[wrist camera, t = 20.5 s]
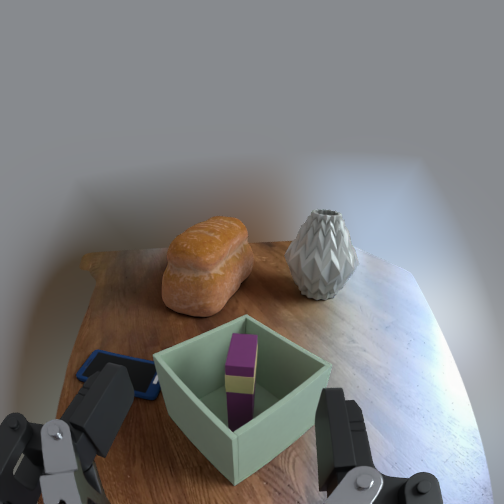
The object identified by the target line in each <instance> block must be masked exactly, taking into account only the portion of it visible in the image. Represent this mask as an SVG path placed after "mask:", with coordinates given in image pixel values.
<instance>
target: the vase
mask: <svg viewBox="0 0 504 504" xmlns="http://www.w3.org/2000/svg"><path fill="white" fill-rule="evenodd" d="M284 256H285V258H286V261H287V264H288V266H289V269H290V272H291V275H292V277H293V280H294V282H295V284H296V285H298V286H299V290H300V291H301V294H302V295H306V296H307V298H314V299H316V300H319V299H323V300H327V299H328V298H334V295H336V294H337V292H338V290H341V289H342V288H343V287H344V285H345V284H346V282H347V281H348V280H349V278H350V277H351V275H352V274H353V272H354V271H355V269H356V268H357V266H358V265H359V262H358V258H357V255H356V251H355V249H354V247H353V246H352V243H351V238H350V234H349V231H348V229H347V228H346V226H345V222H344V220H343V219H342V214H341V213H337V211H331V210H324V209H323V210H319V209H317V210H313V211H312V212H311V216H308V218H307V220H306V222H305V223H304V224H303V225H302V226H301V228H300V230H299V232H298V234H297V237H296V239H295V240H293V241H292V243H291V244H290V246H289V248H288V250H287V251H286V253H285V255H284Z"/></svg>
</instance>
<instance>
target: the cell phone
mask: <svg viewBox="0 0 504 504" xmlns="http://www.w3.org/2000/svg"><path fill="white" fill-rule="evenodd" d="M107 363H113V364H118V365H122V366H125V367H126V368H127V371H128V374H129V377H130V380H131V383H132V386H133V389H134V396H135V397H139V398H143V399H148V400H154V399H156V397H157V396H158V394H159V392H160V389H161V387H160V383H159V379H158V375H157V371H156V367H155V363H154V361H149V360H144V359H139V358H134V357H129V356H124V355H120V354H115V353H111V352H107V351H103V350H95V351H94V352H92V354H91V355H90V356H89V358H88V359H87V360H86V362H85V363H84V364H83V365H82V367H81V368H80V369H79V371H78V372H77V374H76V377H77V378H78V379H79V380H80V381H83V382H86V380H87V379H88V378H89V377H90V376H91V375H93V374H94V373H96V372H97V371H99V372H101V371H102V370H103V368H104V367H105V365H106V364H107Z"/></svg>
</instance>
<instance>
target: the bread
mask: <svg viewBox="0 0 504 504" xmlns="http://www.w3.org/2000/svg"><path fill="white" fill-rule="evenodd" d="M247 238H248V233H247V230H246V227H245V226H244V225H243V223H242V222H241V221H240V220H238V219H236V218H232V217H223V216H216V217H212V218H210V219H208V220H207V221H204V222H200V223H198V224H196V225H194V226H192V227H190V228H188V229H187V230H186V231H185V232H184V233H182V234H180V235H178V236H177V237H176V238H175V239H174V240H173V241H172V243H171V244H170V246H169V249H168V252H167V260H168V265H167V267H166V269H165V271H164V274H163V278H162V298H163V302H164V303H165V305H166V306H167V307H168V308H170V309H172V310H174V311H175V312H178V313H183V314H187V315H191V316H200V317H208V316H212V315H214V314H216V313H218V312H219V311H221V309H222V308H223V307H224V305H225V304H226V303H227V301H228V299H229V298H230V297H231V296H232V295H233V294H234V293H235V292H236V291H237V290H238V288H239V287H240V284H241V283H242V282H243V281H244V280H245V279H246V278H247V277H248V276H249V275H250V273H251V270H252V266H253V252H252V249H251V247H250V245H249V243H248V241H247Z"/></svg>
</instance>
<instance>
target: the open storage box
mask: <svg viewBox="0 0 504 504" xmlns="http://www.w3.org/2000/svg"><path fill="white" fill-rule="evenodd" d="M232 333H238V334H252V335H258V339H257V344H258V350H257V365H256V381H255V401H254V413H253V419H252V420H251V421H249V422H248V423H246V424H245V425H243V426H242V427H240V428H239V429H237V430H236V431H234V432H232V431H231V430H230V429H229V428H228V414H227V397H226V389H225V363H226V359H227V354H228V350H229V346H230V342H231V337H232ZM153 359H154V363H155V367H156V371H157V375H158V379H159V383H160V387H161V390H162V394H163V397H164V401H165V404H166V408H167V411H168V415H169V416H170V417H171V418H172V420H173V421H174V422H175V423H176V424H177V426H178V427H179V428H180V429H181V430H182V432H183V433H184V434H185V435H186V436H187V437H188V439H189V440H190V441H191V442H192V443H193V444H194V445H195V446H196V447H197V449H198V450H199V451H200V452H201V453H202V454H203V455H204V456H205V457H206V458H207V459H208V460H209V461H210V462H211V463H212V464H213V465H214V466H215V467H216V468H217V469H218V470H219V471H220V472H221V473H222V474H223V475H224V476H225V477H226V478H227V479H228V480H229V481H230V482H231V483H232V484H233V485H234V486H235V485H237V484H238V483H240V482H241V481H243V480H244V479H246V478H247V477H249V476H250V475H252V474H253V473H254V472H256V471H257V470H259V469H260V468H261V467H263V466H264V465H266V464H267V463H268V462H270V461H271V460H272V459H273V458H275V457H276V456H277V455H279V454H280V453H281V452H282V451H284V450H285V449H286V448H287V447H289V446H290V445H291V444H292V443H293V442H295V441H296V440H297V439H298V438H299V437H301V436H302V435H303V434H304V433H305V432H306V431H308V430H309V429H310V428H311V427H312V426H313V425H314V424H315V413H316V409H317V406H318V402H319V399H320V395H321V392H322V389H323V388H326V387H327V383H328V379H329V376H330V372H331V368H332V364H330V363H328V362H326V361H325V360H323V359H321V358H319V357H317V356H316V355H314V354H312V353H310V352H309V351H307V350H305V349H303V348H302V347H300V346H298V345H297V344H295V343H293V342H291V341H290V340H288V339H286V338H285V337H283V336H281V335H280V334H278V333H276V332H275V331H273V330H271V329H270V328H268V327H266V326H265V325H263V324H261V323H260V322H258V321H257V320H255V319H253V318H252V317H250V316H248V315H247V314H246V315H244V316H242V317H239V318H237V319H235V320H233V321H231V322H228V323H226V324H224V325H222V326H219V327H217V328H215V329H213V330H210V331H208V332H206V333H203V334H201V335H199V336H196V337H194V338H192V339H189V340H187V341H185V342H182V343H180V344H177V345H175V346H173V347H170V348H168V349H165V350H163V351H160V352H158V353H155V354H153Z"/></svg>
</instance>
